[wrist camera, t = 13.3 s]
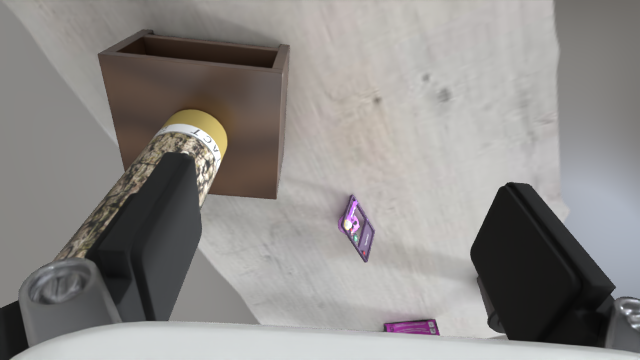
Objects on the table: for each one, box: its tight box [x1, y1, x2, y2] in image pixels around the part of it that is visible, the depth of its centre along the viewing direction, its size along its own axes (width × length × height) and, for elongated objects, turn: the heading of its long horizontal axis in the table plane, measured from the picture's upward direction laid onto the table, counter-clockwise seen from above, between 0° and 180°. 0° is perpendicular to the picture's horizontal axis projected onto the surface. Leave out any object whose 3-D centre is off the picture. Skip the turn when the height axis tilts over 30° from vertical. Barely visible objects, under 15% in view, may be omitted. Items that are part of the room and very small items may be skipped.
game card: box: [338, 195, 375, 262], centre depth 59 cm, size 7×5×9 cm
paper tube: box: [52, 109, 227, 262], centre depth 30 cm, size 7×7×25 cm
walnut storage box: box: [98, 30, 290, 199], centre depth 45 cm, size 16×18×11 cm
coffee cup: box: [477, 276, 506, 334], centre depth 66 cm, size 8×8×10 cm
